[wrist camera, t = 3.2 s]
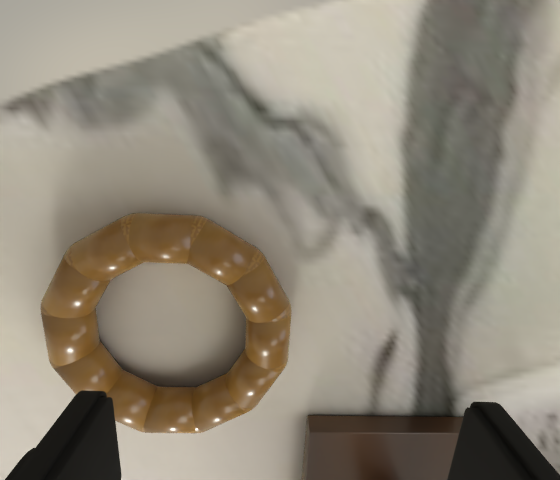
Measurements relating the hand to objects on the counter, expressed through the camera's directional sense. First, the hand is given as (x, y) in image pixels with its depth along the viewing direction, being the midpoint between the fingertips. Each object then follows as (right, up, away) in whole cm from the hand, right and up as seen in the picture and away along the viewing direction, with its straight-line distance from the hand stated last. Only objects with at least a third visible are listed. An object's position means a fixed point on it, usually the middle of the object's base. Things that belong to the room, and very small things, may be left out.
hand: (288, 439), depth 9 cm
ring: (-5, +2, +5) cm, 7 cm away
